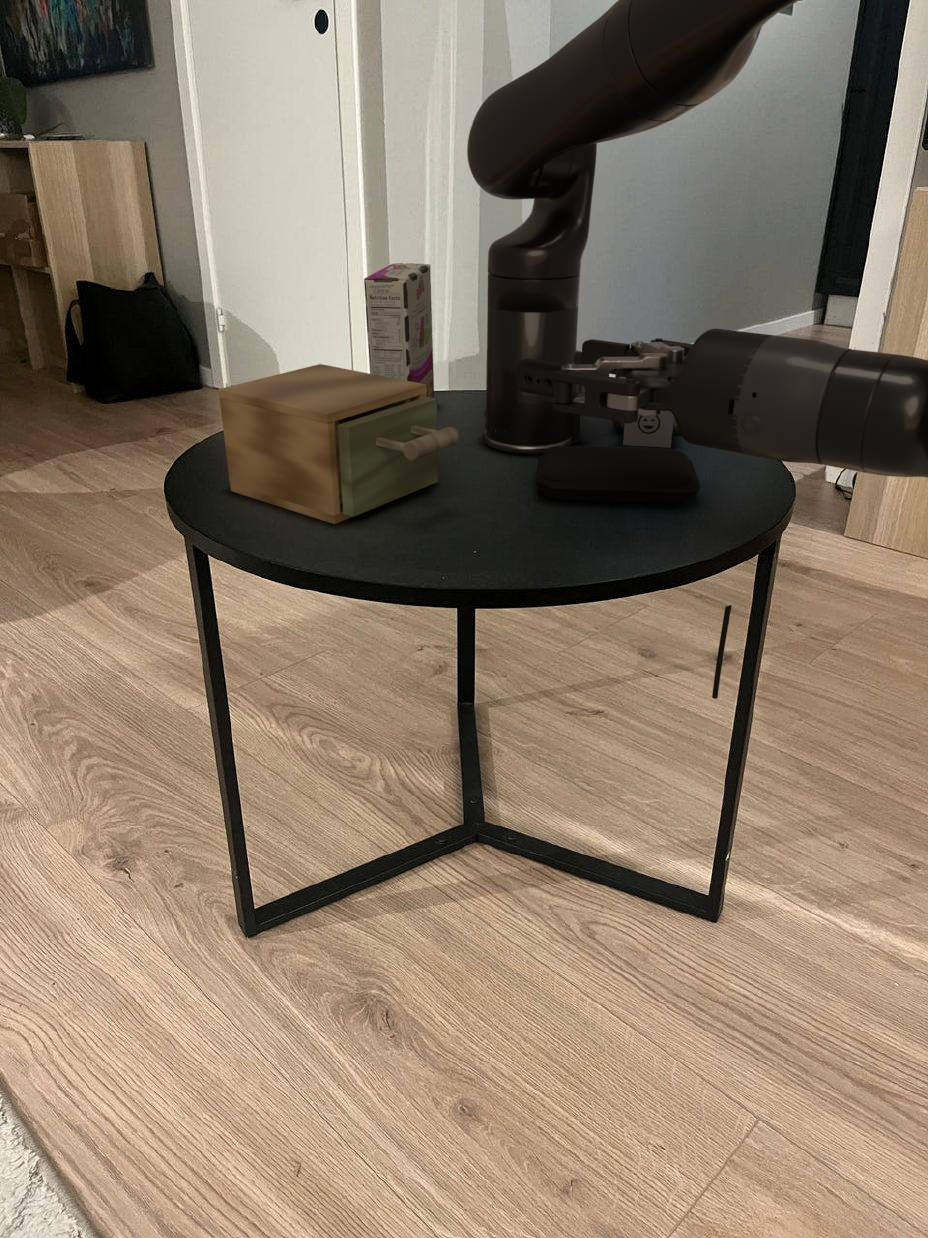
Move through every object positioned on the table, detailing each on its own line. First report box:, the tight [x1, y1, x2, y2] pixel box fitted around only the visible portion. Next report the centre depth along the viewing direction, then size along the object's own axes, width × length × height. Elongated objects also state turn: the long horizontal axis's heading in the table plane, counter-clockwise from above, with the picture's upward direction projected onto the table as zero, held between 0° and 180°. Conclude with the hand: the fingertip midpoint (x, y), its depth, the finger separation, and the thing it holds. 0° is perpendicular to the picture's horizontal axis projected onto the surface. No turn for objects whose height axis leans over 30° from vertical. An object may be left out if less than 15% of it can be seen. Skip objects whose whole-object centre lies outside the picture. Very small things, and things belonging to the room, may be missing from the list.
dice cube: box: [622, 410, 675, 449], centre depth 102 cm, size 5×5×5 cm
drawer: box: [334, 397, 460, 518], centre depth 85 cm, size 17×11×8 cm, turn 52°
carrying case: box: [535, 445, 701, 505], centre depth 89 cm, size 11×3×15 cm
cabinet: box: [218, 363, 427, 525], centre depth 87 cm, size 14×13×10 cm
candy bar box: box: [363, 262, 435, 398], centre depth 107 cm, size 11×5×16 cm, turn 168°
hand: (552, 363), depth 69 cm, fingers open, 8 cm apart
